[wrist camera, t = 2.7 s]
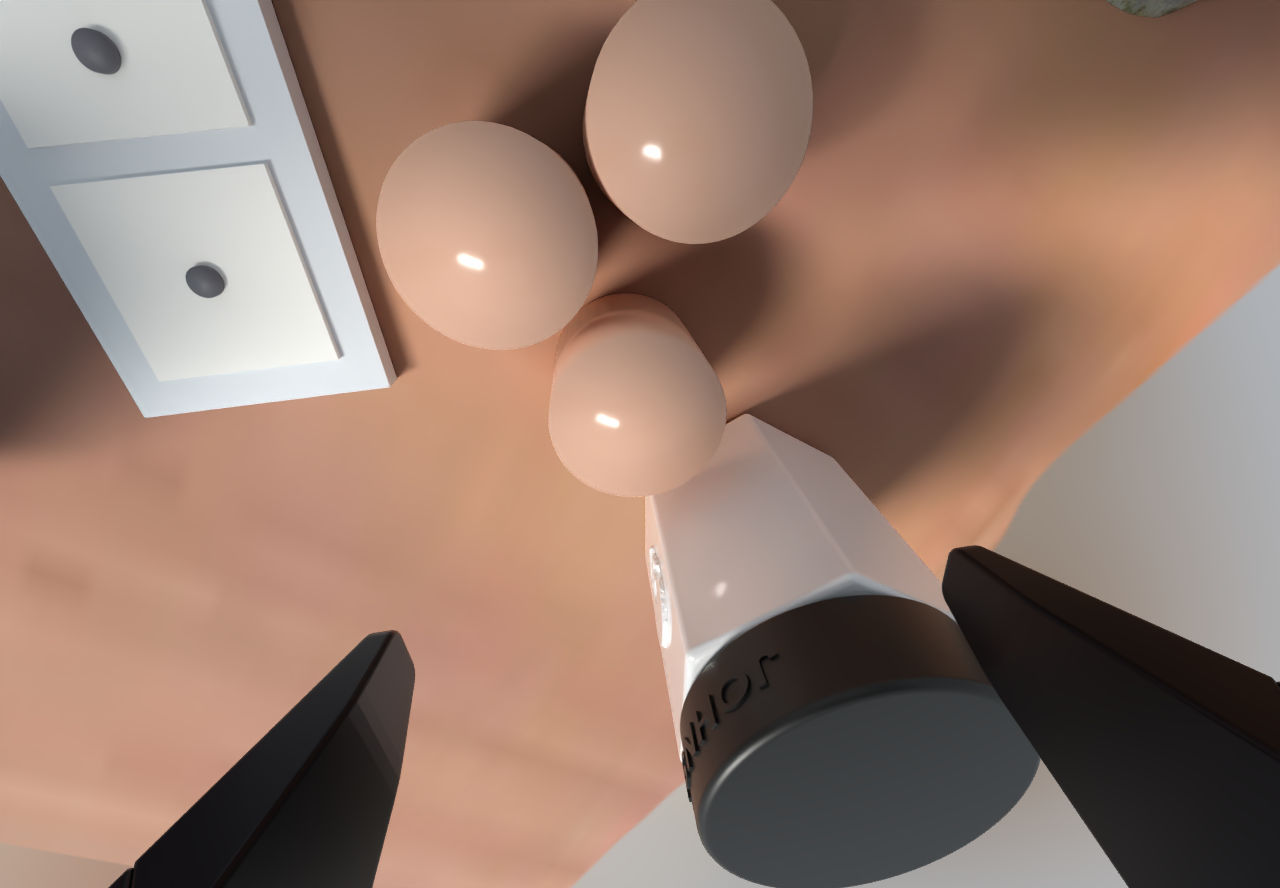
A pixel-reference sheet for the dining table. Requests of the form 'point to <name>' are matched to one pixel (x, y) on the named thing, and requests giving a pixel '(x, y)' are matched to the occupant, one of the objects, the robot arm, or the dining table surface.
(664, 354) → the peach rounded piece
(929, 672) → the jar
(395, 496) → the dining table surface
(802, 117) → the peach rounded blob
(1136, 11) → the soupspoon
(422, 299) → the peach rounded capsule
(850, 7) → the dining table surface
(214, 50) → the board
